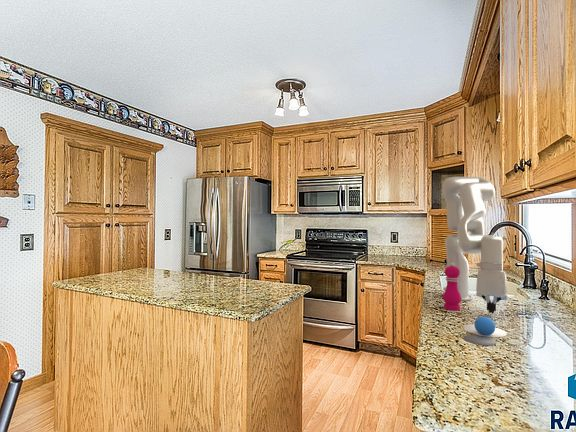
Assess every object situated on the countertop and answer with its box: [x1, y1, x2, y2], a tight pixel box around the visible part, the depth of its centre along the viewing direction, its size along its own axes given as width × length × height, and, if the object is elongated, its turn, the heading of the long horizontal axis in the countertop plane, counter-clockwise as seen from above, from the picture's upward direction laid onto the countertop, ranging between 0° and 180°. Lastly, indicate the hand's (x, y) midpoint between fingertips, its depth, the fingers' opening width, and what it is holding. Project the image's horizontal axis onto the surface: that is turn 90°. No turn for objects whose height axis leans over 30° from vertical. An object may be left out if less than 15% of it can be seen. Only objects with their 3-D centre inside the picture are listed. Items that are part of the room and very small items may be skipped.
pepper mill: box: [442, 263, 462, 312], centre depth 142 cm, size 7×7×20 cm
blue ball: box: [473, 316, 496, 337], centre depth 109 cm, size 6×6×6 cm
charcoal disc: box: [463, 334, 497, 347], centre depth 104 cm, size 9×9×1 cm
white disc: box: [462, 323, 508, 338], centre depth 113 cm, size 13×13×1 cm
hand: (491, 312), depth 131 cm, fingers closed
